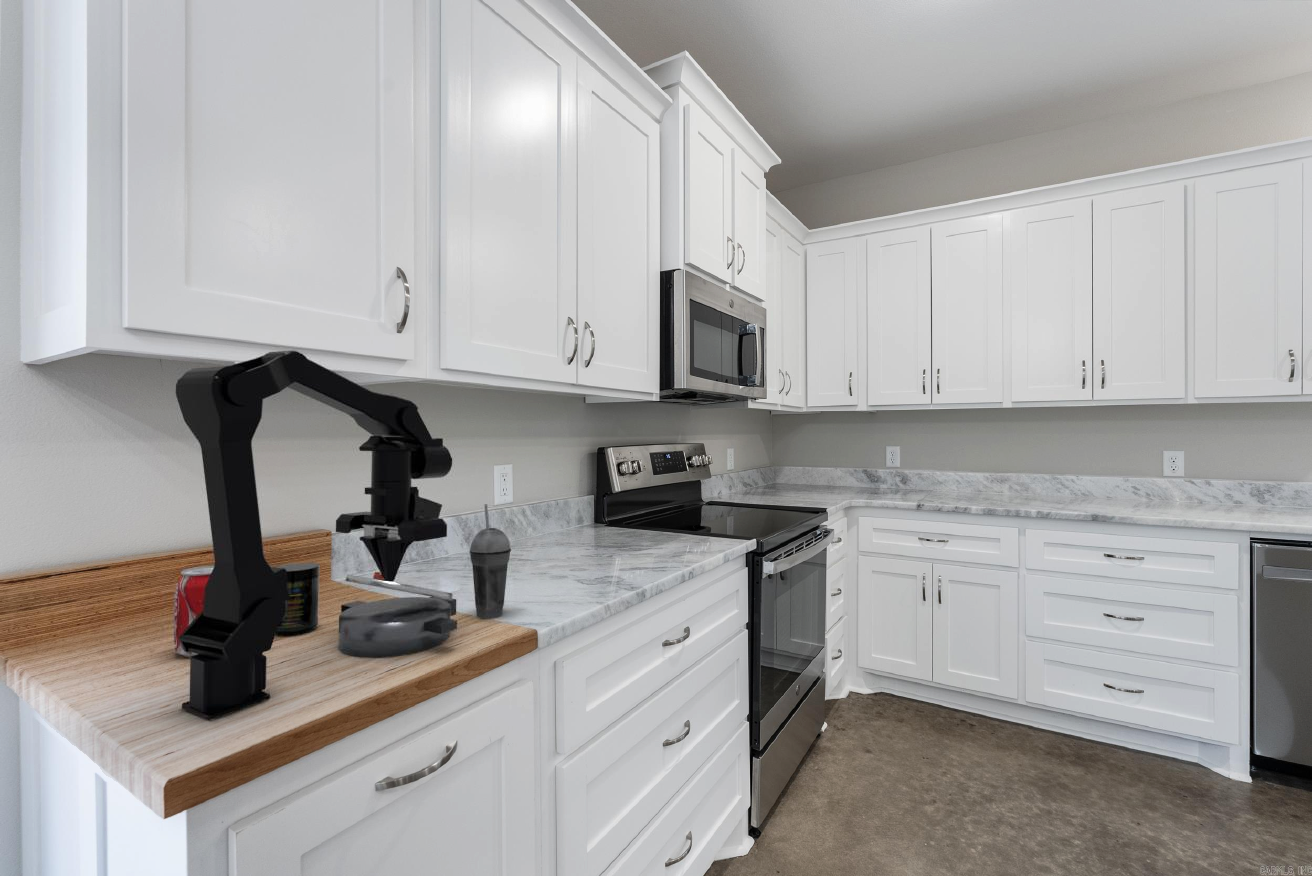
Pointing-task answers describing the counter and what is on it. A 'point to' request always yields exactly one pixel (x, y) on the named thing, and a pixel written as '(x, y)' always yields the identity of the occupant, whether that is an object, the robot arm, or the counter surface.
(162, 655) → the counter surface
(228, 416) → the robot arm
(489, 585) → the beverage cup
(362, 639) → the pressure cooker pot
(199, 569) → the soda can
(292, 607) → the supplement container
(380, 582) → the pressure cooker lid
